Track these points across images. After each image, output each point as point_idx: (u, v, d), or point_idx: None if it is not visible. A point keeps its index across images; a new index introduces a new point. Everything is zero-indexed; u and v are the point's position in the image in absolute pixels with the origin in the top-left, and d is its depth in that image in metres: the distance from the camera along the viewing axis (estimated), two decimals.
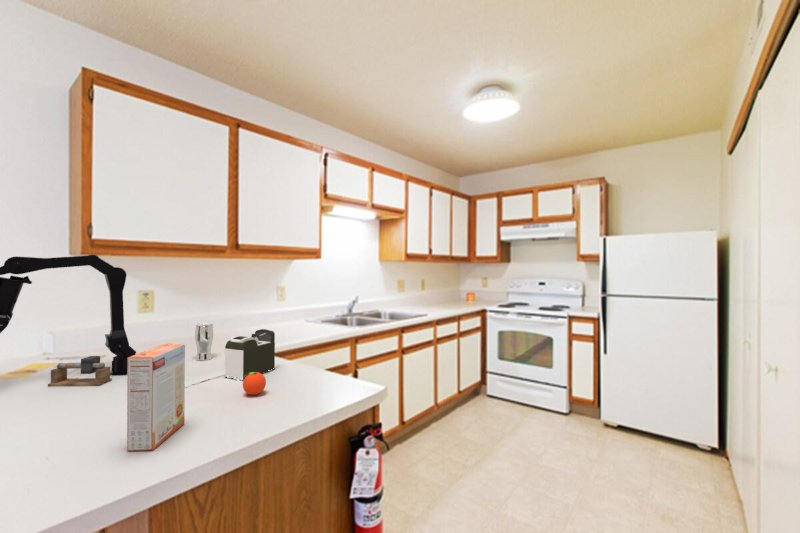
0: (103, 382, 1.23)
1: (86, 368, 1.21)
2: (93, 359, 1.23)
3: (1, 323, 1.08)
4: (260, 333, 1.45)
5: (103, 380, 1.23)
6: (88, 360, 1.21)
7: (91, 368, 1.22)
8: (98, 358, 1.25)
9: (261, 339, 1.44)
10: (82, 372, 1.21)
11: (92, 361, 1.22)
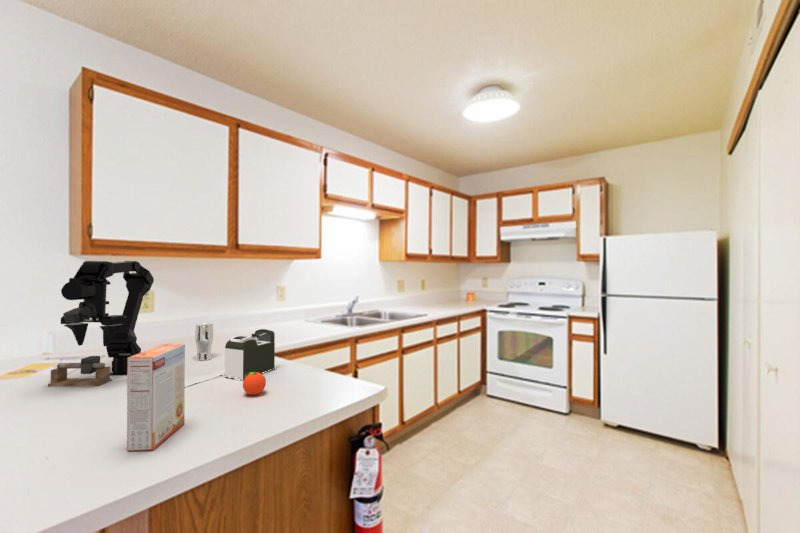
0: (103, 382, 1.23)
1: (86, 368, 1.21)
2: (93, 359, 1.23)
3: (123, 322, 1.21)
4: (260, 333, 1.45)
5: (103, 380, 1.23)
6: (88, 360, 1.21)
7: (91, 368, 1.22)
8: (98, 358, 1.25)
9: (261, 339, 1.45)
10: (82, 372, 1.21)
11: (92, 361, 1.22)
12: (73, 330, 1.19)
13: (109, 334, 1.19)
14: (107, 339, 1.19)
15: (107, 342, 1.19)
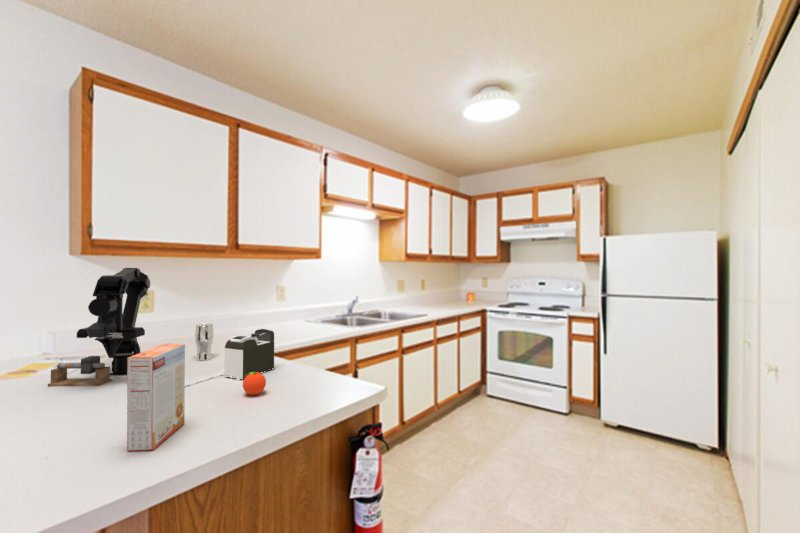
0: (103, 382, 1.23)
1: (86, 368, 1.21)
2: (93, 359, 1.23)
3: (143, 334, 1.27)
4: (260, 333, 1.45)
5: (103, 380, 1.23)
6: (88, 360, 1.21)
7: (91, 368, 1.22)
8: (98, 358, 1.25)
9: (261, 339, 1.45)
10: (82, 372, 1.21)
11: (92, 361, 1.22)
12: (104, 343, 1.23)
13: (115, 346, 1.24)
14: (113, 351, 1.24)
15: (113, 354, 1.24)
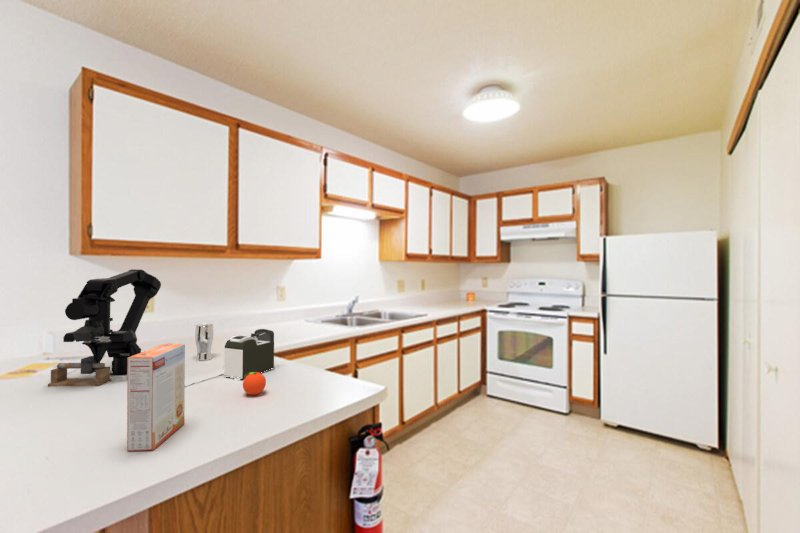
0: (103, 382, 1.23)
1: (86, 368, 1.21)
2: (93, 359, 1.23)
3: (131, 337, 1.26)
4: (259, 333, 1.45)
5: (103, 380, 1.23)
6: (88, 360, 1.21)
7: (91, 368, 1.22)
8: None
9: (260, 339, 1.45)
10: (82, 372, 1.21)
11: (92, 361, 1.22)
12: (91, 347, 1.22)
13: (103, 350, 1.24)
14: (101, 355, 1.24)
15: (101, 358, 1.24)
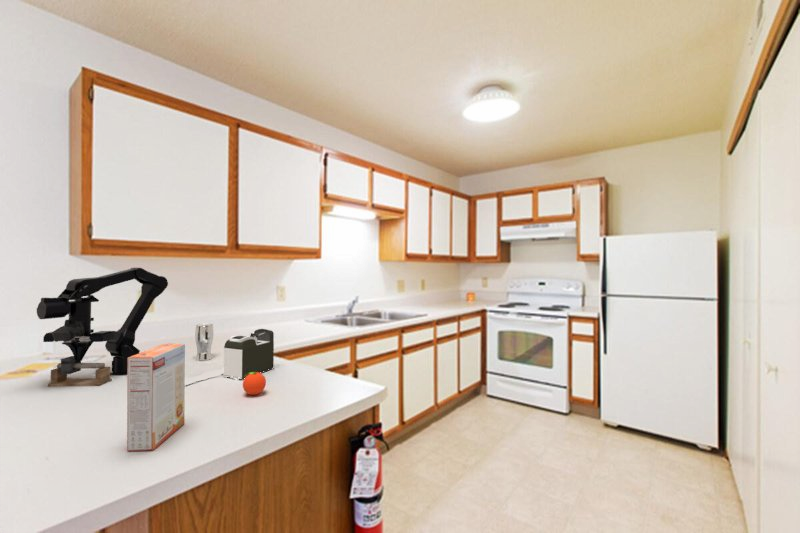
0: (103, 382, 1.23)
1: (66, 368, 1.21)
2: (73, 359, 1.22)
3: (112, 337, 1.26)
4: (259, 333, 1.45)
5: (103, 380, 1.23)
6: (68, 360, 1.21)
7: (71, 368, 1.21)
8: None
9: (260, 339, 1.45)
10: (62, 372, 1.21)
11: (72, 361, 1.22)
12: (71, 347, 1.22)
13: (83, 350, 1.23)
14: (81, 355, 1.23)
15: (81, 358, 1.23)
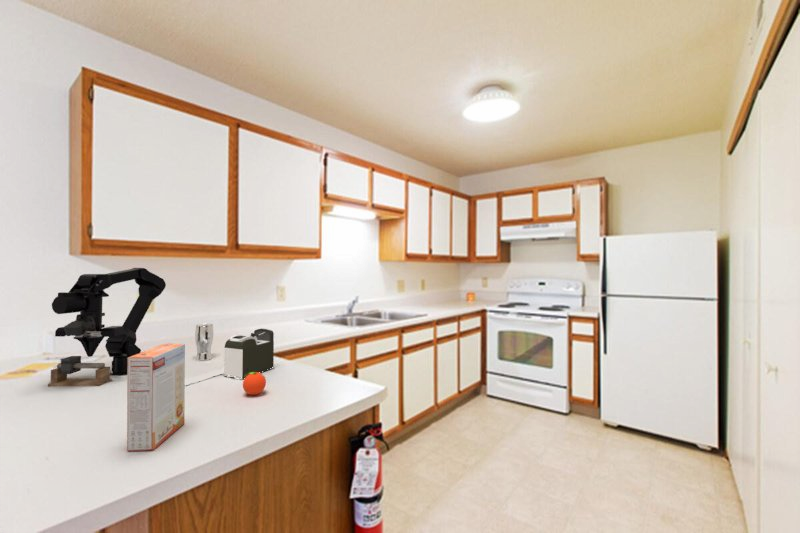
0: (103, 382, 1.23)
1: (66, 368, 1.21)
2: (73, 359, 1.22)
3: (122, 332, 1.26)
4: (259, 332, 1.46)
5: (103, 380, 1.23)
6: (68, 360, 1.21)
7: (71, 368, 1.21)
8: (79, 358, 1.25)
9: (260, 338, 1.46)
10: (62, 372, 1.21)
11: (72, 361, 1.22)
12: (82, 342, 1.22)
13: (94, 345, 1.24)
14: (92, 350, 1.23)
15: (92, 353, 1.24)
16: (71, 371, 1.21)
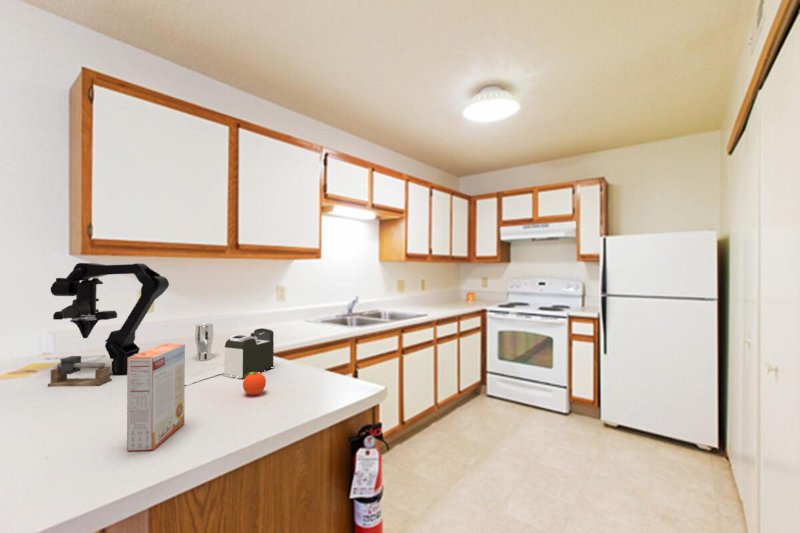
0: (103, 382, 1.23)
1: (66, 368, 1.21)
2: (73, 359, 1.22)
3: (115, 316, 1.38)
4: (259, 332, 1.46)
5: (103, 380, 1.23)
6: (68, 360, 1.21)
7: (71, 368, 1.21)
8: (79, 358, 1.25)
9: (260, 338, 1.46)
10: (62, 372, 1.21)
11: (72, 361, 1.22)
12: (78, 325, 1.33)
13: (89, 327, 1.35)
14: (87, 332, 1.35)
15: (87, 335, 1.35)
16: (71, 371, 1.21)
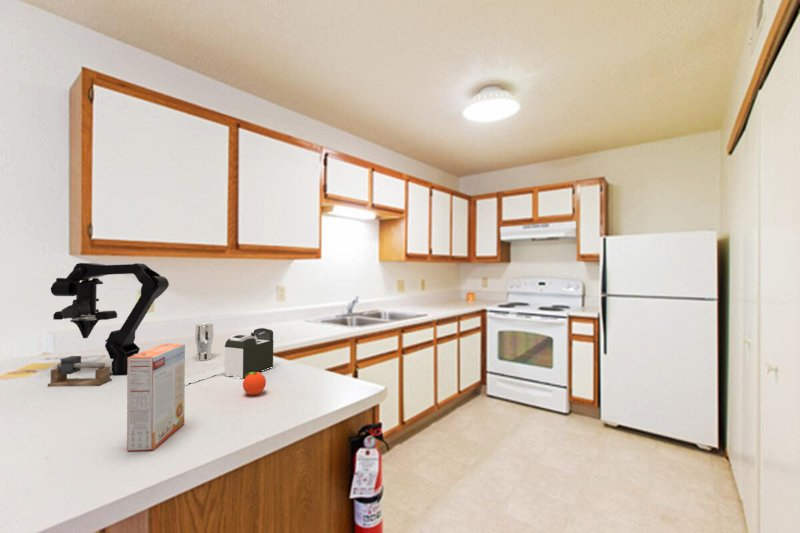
0: (103, 382, 1.23)
1: (66, 368, 1.21)
2: (73, 359, 1.22)
3: (115, 316, 1.38)
4: (259, 332, 1.47)
5: (103, 380, 1.23)
6: (68, 360, 1.21)
7: (71, 368, 1.21)
8: (79, 358, 1.25)
9: (260, 338, 1.47)
10: (62, 372, 1.21)
11: (72, 361, 1.22)
12: (78, 325, 1.34)
13: (89, 327, 1.35)
14: (87, 332, 1.35)
15: (88, 335, 1.35)
16: (71, 371, 1.21)
